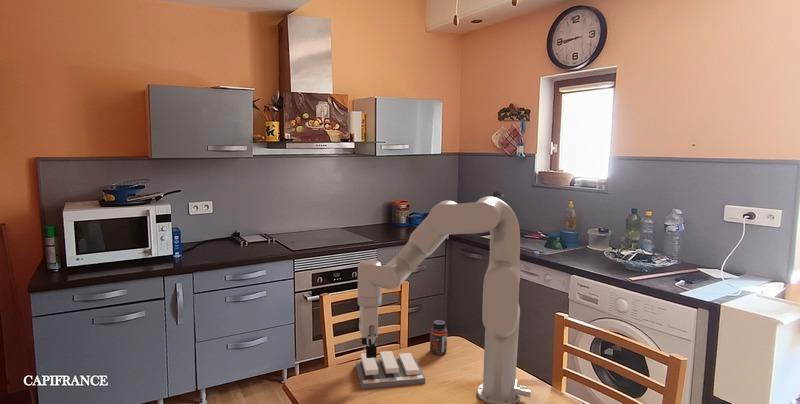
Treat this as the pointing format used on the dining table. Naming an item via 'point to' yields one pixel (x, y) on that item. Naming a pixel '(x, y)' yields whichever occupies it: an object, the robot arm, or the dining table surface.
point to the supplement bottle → (438, 338)
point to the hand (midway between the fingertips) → (369, 350)
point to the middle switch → (389, 362)
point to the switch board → (388, 376)
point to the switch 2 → (408, 364)
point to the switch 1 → (369, 365)
